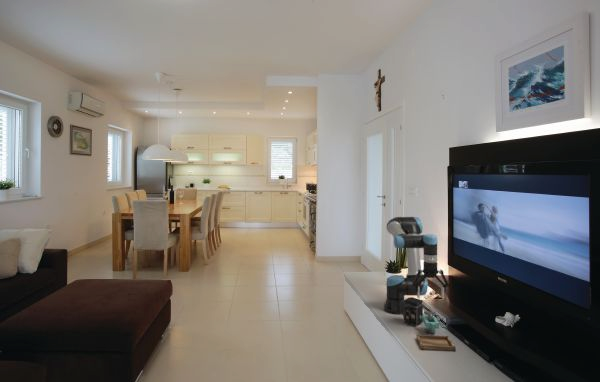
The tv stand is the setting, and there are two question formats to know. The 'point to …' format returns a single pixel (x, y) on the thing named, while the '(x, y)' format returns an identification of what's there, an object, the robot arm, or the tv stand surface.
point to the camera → (413, 311)
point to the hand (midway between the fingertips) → (430, 298)
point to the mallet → (430, 319)
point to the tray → (435, 343)
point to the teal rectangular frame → (431, 325)
